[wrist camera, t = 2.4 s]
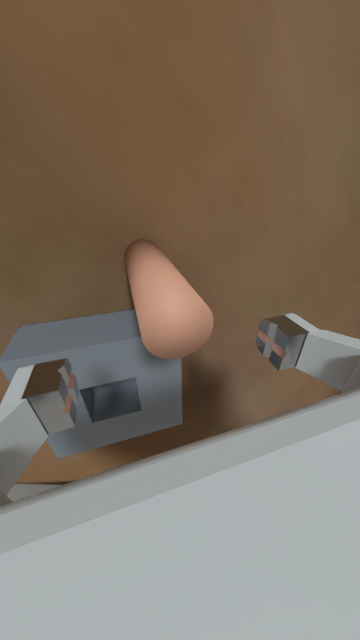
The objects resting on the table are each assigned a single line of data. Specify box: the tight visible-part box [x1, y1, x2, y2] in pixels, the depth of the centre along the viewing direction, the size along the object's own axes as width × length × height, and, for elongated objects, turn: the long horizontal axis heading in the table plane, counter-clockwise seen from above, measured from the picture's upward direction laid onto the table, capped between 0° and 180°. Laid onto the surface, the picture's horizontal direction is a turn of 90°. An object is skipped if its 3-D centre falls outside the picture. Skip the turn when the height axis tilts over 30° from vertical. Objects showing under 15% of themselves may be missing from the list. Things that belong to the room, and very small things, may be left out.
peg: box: [124, 240, 213, 359], centre depth 15 cm, size 4×4×12 cm
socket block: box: [0, 309, 183, 459], centre depth 23 cm, size 14×14×5 cm
